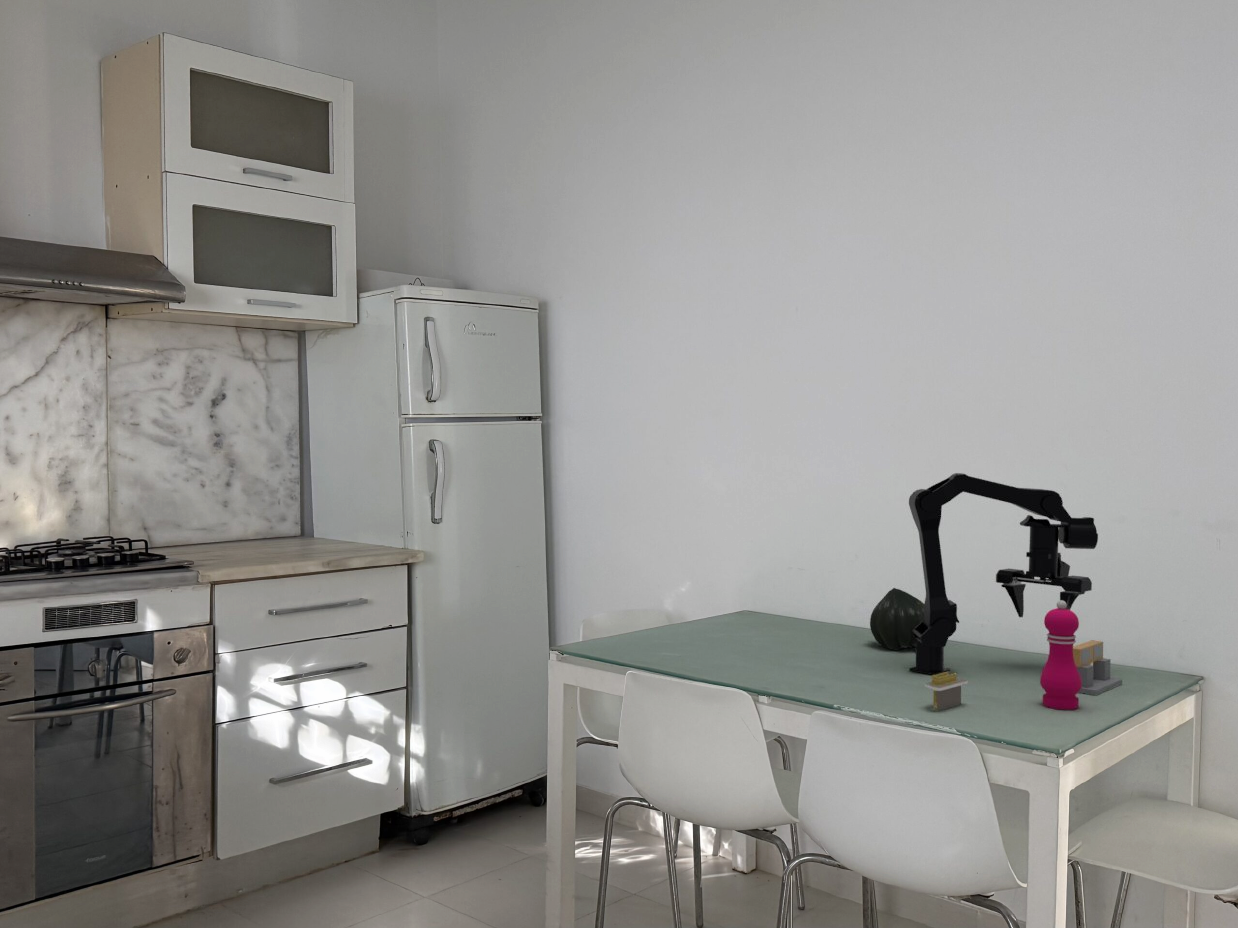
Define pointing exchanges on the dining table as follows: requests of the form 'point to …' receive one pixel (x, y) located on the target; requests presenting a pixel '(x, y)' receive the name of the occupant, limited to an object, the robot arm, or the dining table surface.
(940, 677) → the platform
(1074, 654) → the tan wooden bar
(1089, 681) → the display stand
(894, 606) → the squash
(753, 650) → the dining table surface
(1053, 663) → the pepper mill
